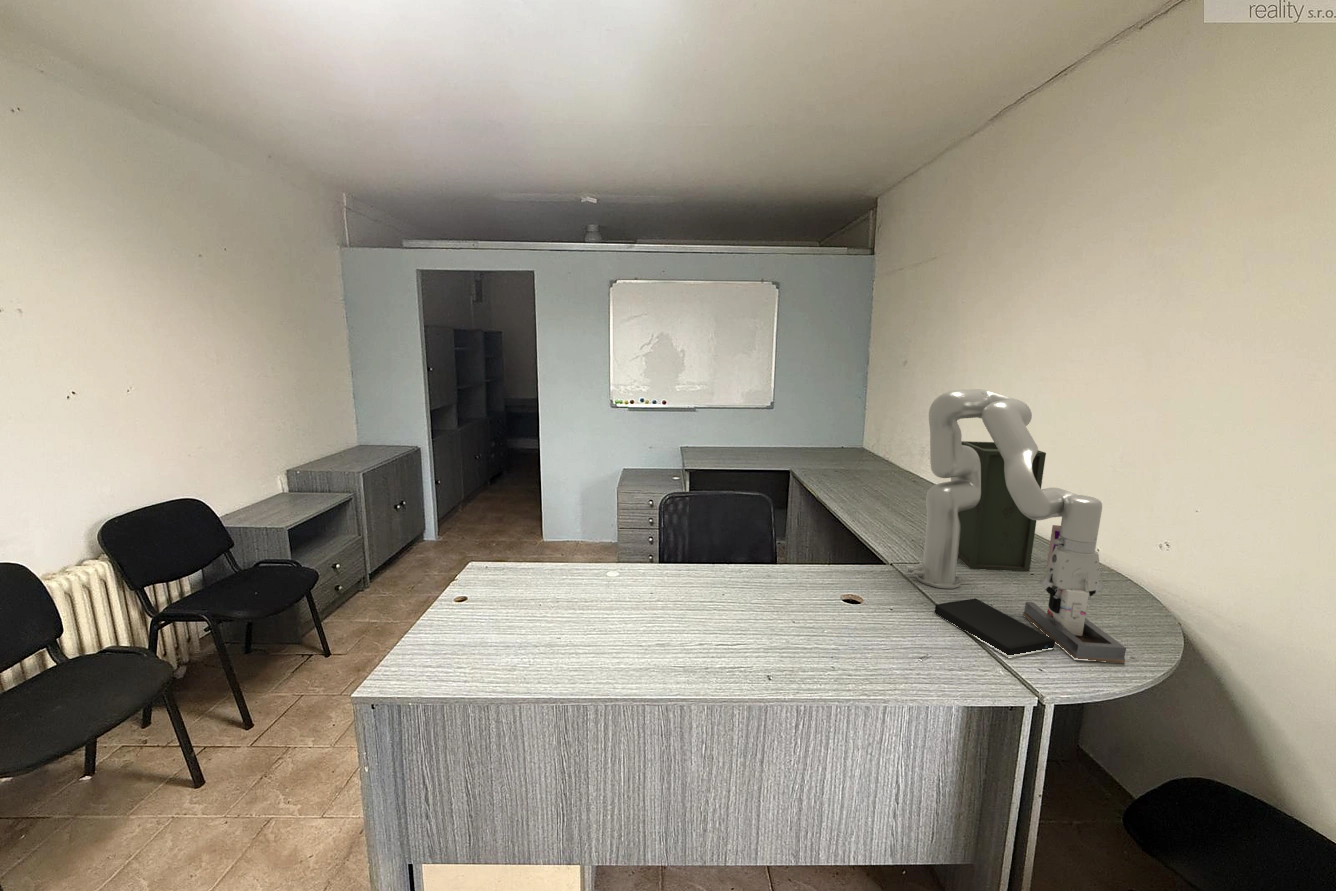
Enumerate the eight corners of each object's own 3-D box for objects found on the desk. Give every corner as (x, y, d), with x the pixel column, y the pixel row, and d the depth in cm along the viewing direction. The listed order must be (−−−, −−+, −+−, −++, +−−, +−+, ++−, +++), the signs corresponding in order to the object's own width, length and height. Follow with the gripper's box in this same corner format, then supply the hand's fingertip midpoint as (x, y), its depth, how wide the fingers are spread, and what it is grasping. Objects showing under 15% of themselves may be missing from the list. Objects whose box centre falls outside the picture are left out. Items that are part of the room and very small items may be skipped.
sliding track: (1074, 660, 127) (1077, 645, 127) (1022, 615, 149) (1024, 601, 148) (1124, 663, 126) (1127, 648, 126) (1065, 617, 148) (1067, 604, 147)
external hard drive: (974, 608, 154) (976, 598, 153) (1053, 651, 132) (1055, 640, 132) (934, 614, 150) (935, 604, 149) (1008, 660, 128) (1010, 648, 127)
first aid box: (947, 548, 198) (959, 441, 191) (1000, 551, 197) (1015, 442, 189) (970, 569, 180) (984, 450, 173) (1029, 571, 178) (1046, 452, 171)
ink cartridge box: (1044, 618, 145) (1052, 566, 142) (1065, 620, 144) (1073, 567, 141) (1061, 634, 136) (1069, 579, 134) (1083, 636, 136) (1092, 581, 133)
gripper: (1049, 548, 133) (1039, 617, 136) (1123, 551, 132) (1111, 620, 135) (1032, 537, 140) (1023, 603, 144) (1102, 540, 139) (1091, 606, 142)
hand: (1066, 610), depth 139 cm, fingers closed on ink cartridge box, 5 cm apart
